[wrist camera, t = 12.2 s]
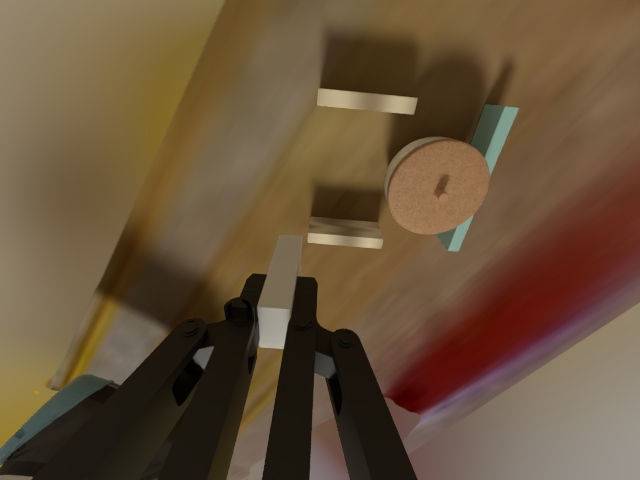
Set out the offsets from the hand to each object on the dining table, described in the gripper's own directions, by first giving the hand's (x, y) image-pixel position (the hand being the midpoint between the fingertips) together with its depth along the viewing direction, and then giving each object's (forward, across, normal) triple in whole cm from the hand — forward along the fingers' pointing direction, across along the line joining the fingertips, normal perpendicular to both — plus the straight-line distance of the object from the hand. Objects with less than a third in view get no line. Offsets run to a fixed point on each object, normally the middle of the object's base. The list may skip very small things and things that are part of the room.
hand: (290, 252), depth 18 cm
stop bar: (+20, +21, +1) cm, 29 cm away
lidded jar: (+21, +14, +1) cm, 25 cm away
